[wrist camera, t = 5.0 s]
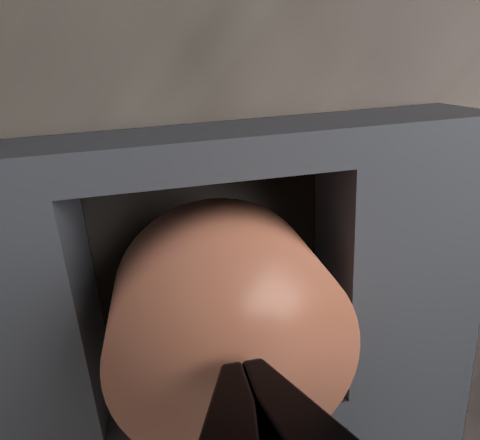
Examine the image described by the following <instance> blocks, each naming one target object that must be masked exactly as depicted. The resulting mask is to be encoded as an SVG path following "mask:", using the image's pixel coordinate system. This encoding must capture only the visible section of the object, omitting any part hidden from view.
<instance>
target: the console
mask: <svg viewBox="0 0 480 440" xmlns="http://www.w3.org/2000/svg"><path fill="white" fill-rule="evenodd" d="M308 174H315V256H316V257H317V258H318V259H319V260H320V262H321V263H322V264H323V265H324V266H325V268H326V269H327V270H328V271H329V272H330V274H331V275H332V276H333V277H334V278H335V280H336V281H337V282H338V283H339V285H340V286H341V287H342V289H343V290H344V291H345V292H346V294H347V296H348V298H349V299H350V301H351V303H352V305H353V307H354V310H355V313H356V316H357V319H358V324H359V329H360V354H359V361H358V365H357V369H356V373H355V375H354V378H353V380H352V383H351V385H350V387H349V389H348V391H347V393H346V395H345V396H344V398H343V400H342V401H341V403H340V404H339V405H338V407H337V408H336V410H335V411H334V412H333V413H332V414H331V416H332V417H333V418H334V419H336V420H337V421H338V422H339V423H340V424H342V425H343V426H344V427H345V428H347V429H348V430H349V431H350V432H351V433H353V434H354V435H355V436H356V437H357V438H359V439H360V440H462V439H463V432H464V426H465V419H466V413H467V406H468V400H469V393H470V387H471V380H472V374H473V367H474V361H475V354H476V348H477V341H478V335H479V328H480V109H477V108H470V107H463V106H456V105H449V104H442V103H434V104H422V105H410V106H398V107H386V108H374V109H362V110H350V111H337V112H325V113H313V114H301V115H289V116H277V117H265V118H253V119H241V120H229V121H217V122H205V123H192V124H180V125H168V126H156V127H144V128H132V129H120V130H108V131H96V132H84V133H72V134H59V135H47V136H35V137H23V138H11V139H0V440H131V439H130V438H129V437H128V436H127V435H126V434H125V433H124V432H123V431H122V430H121V429H120V427H119V426H118V424H117V423H116V422H115V420H114V419H113V417H112V416H111V413H110V411H109V409H108V407H107V405H106V403H105V399H104V396H103V393H102V389H101V381H100V359H101V354H102V348H103V343H104V337H105V332H106V330H105V324H104V319H103V314H102V309H101V304H100V298H99V293H98V288H97V283H96V277H95V272H94V267H93V262H92V257H91V251H90V246H89V241H88V236H87V230H86V225H85V220H84V215H83V210H82V204H81V199H80V198H87V197H97V196H106V195H116V194H126V193H135V192H145V191H154V190H164V189H174V188H183V187H193V186H202V185H212V184H222V183H231V182H241V181H250V180H260V179H270V178H279V177H289V176H299V175H308Z"/></svg>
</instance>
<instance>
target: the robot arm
mask: <svg viewBox="0 0 480 440" xmlns="http://www.w3.org/2000/svg"><path fill="white" fill-rule="evenodd" d="M198 440H360V439H359V438H357V437H356V436H355V435H354V434H353V433H351V432H350V431H349V430H348V429H347V428H345V427H344V426H343V425H342V424H340V423H339V422H338V421H337V420H336V419H334V418H333V417H332V416H331V415H330V414H328V413H327V412H326V411H325V410H324V409H322V408H321V407H320V406H319V405H318V404H316V403H315V402H314V401H313V400H312V399H310V398H309V397H308V396H307V395H306V394H304V393H303V392H302V391H301V390H300V389H298V388H297V387H296V386H295V385H294V384H292V383H291V382H290V381H289V380H288V379H286V378H285V377H284V376H283V375H282V374H280V373H279V372H278V371H277V370H276V369H274V368H273V367H272V366H271V365H269V364H268V363H267V362H266V361H265V360H263V359H261V358H257V359H251V360H245V361H244V362H243V363H241V362H233V363H227V364H223V365H222V366H221V368H220V372H219V375H218V378H217V381H216V385H215V388H214V391H213V394H212V397H211V401H210V404H209V407H208V410H207V413H206V417H205V420H204V423H203V426H202V430H201V433H200V436H199V439H198Z"/></svg>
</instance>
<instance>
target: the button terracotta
mask: <svg viewBox="0 0 480 440" xmlns="http://www.w3.org/2000/svg"><path fill="white" fill-rule="evenodd" d="M359 354H360V329H359V324H358V319H357V316H356V313H355V310H354V307H353V305H352V303H351V301H350V299H349V298H348V296H347V294H346V292H345V291H344V290H343V289H342V287H341V286H340V285H339V283H338V282H337V281H336V280H335V278H334V277H333V276H332V275H331V274H330V272H329V271H328V270H327V269H326V268H325V266H324V265H323V264H322V263H321V262H320V260H319V259H318V258H317V257H316V256H315V254H314V253H313V252H312V251H311V250H310V248H309V247H308V246H307V245H306V244H305V242H304V241H303V240H302V239H301V238H300V236H299V235H298V234H297V233H296V232H295V230H294V229H293V228H292V227H291V226H290V225H289V224H288V223H287V222H286V221H285V220H284V219H282V218H281V217H279V216H278V215H277V214H275V213H274V212H272V211H270V210H268V209H266V208H264V207H262V206H260V205H257V204H254V203H251V202H248V201H243V200H238V199H229V198H213V199H204V200H198V201H194V202H190V203H187V204H184V205H181V206H178V207H176V208H174V209H172V210H169V211H167V212H166V213H164V214H163V215H161V216H159V217H158V218H156V219H155V220H153V221H152V222H151V223H150V224H148V225H147V226H146V227H145V228H144V229H143V230H142V231H141V232H140V233H139V234H138V235H137V236H136V237H135V238H134V240H133V241H132V242H131V244H130V245H129V247H128V248H127V250H126V252H125V253H124V255H123V257H122V259H121V261H120V264H119V267H118V270H117V273H116V278H115V283H114V288H113V293H112V299H111V304H110V310H109V315H108V321H107V326H106V332H105V337H104V343H103V348H102V354H101V359H100V381H101V389H102V393H103V396H104V399H105V403H106V405H107V407H108V409H109V411H110V413H111V416H112V417H113V419H114V420H115V422H116V423H117V424H118V426H119V427H120V429H121V430H122V431H123V432H124V433H125V434H126V435H127V436H128V437H129V438H130V439H131V440H198V439H199V436H200V433H201V430H202V426H203V423H204V420H205V417H206V413H207V410H208V407H209V404H210V401H211V397H212V394H213V391H214V388H215V385H216V381H217V378H218V375H219V372H220V368H221V366H222V365H223V364H227V363H233V362H241V363H243V362H244V361H245V360H251V359H257V358H261V359H263V360H265V361H266V362H267V363H268V364H269V365H271V366H272V367H273V368H274V369H276V370H277V371H278V372H279V373H280V374H282V375H283V376H284V377H285V378H286V379H288V380H289V381H290V382H291V383H292V384H294V385H295V386H296V387H297V388H298V389H300V390H301V391H302V392H303V393H304V394H306V395H307V396H308V397H309V398H310V399H312V400H313V401H314V402H315V403H316V404H318V405H319V406H320V407H321V408H322V409H324V410H325V411H326V412H327V413H328V414H330V415H331V414H332V413H333V412H334V411H335V410H336V408H337V407H338V405H339V404H340V403H341V401H342V400H343V398H344V396H345V395H346V393H347V391H348V389H349V387H350V385H351V383H352V380H353V378H354V375H355V373H356V369H357V365H358V361H359Z"/></svg>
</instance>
